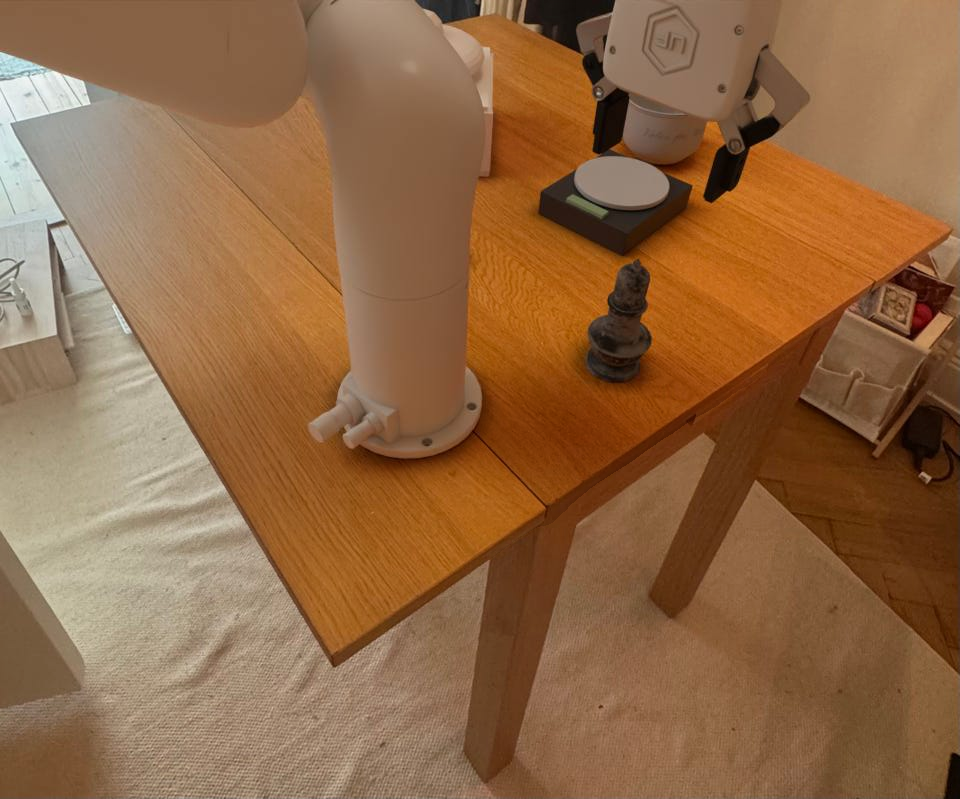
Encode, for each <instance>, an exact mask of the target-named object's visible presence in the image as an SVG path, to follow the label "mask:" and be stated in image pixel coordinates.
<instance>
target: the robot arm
mask: <svg viewBox="0 0 960 799" xmlns="http://www.w3.org/2000/svg"><path fill="white" fill-rule="evenodd" d="M782 3H783V0H615V1H614V4H613V9H612V11H611V12H608V13H605V14H601V15H598V16H594V17H591V18H588V19H586V20H584V21H582V22H580V23H578V24H577V25H576V28H575V32H576V37H577V41H578V46H579V49H580V54H582V56H583V57H582V60H581V66H582V68H583V70H584V72H585V74H586V76H587V77H588V80H589V81H590V84H591V86H592V87H591V96H592V98H593V99H594V100H595V101H596V107H595V114H594V120H593V127H592V134H593V136H594V137H593V142H592V150H591V151H592V153H594V154H596V155H597V156H599V155H601V154H603V153H604V152H606V151H608V150H609V149H610V150H612V149H613V148H614V147H615V146H617V145H619V144H620V143H621V142H622V140H623V131H624V126H625V121H626V115H627V110H628V105H629V99H630V97H629V93H631V94H633V95H636V96H638V97H641V98H643V99H646V100H649V101H651V102H654V103H657V104H659V105H662V106H664V107H667V108H670V109H672V110H675V111H678V112H680V113H683V114H686V115H689V116H691V117H694V118H697V119H700V120H704V121H708V122H710V123H713V122H714V123H716V124H717V126H718V128H719V132H720V134H721V136H722V139H723V141H724V144H723V145H722V146H721V147H719V148H718V149H717V150H716V152H715V154H714V158H713V160H712V164H711V167H710V171H709V174H708V178H707V182H706V185H705V189H704V192H703V195H702V198H703V199H704V201H705V202H707V203H709V204H713V203H714V202H716V201H717V200H718V199H719V198H720V197H722V196H723V195H724V194H725V193H727V192H729V193H730V192H732V191H733V190H734V189H735V188H737V186H738V185H739V182H740V180H741V177H742V174H743V170H744V168H745V165H746V162H747V158H748V155H749V154H750V153H749V152H750V150H751V148H752V147H754V146H756V145H757V144H760V143H762V142H764V141H767V140H768V139H770V138H772V137H773V136H774V135H776V134H777V133H779V132H780V131H781V130H782V129H784V128H785V126H786V125H788V124H789V123H790V122H791V121H792V120H793V119H794V118H795V117H796V116H797V115H799V113H800V112H802V110H803V109H804V108H806V107H807V106H808V105H809V104H810V101H811V94H810V93H809V92H808V90H807V89H805V88H804V86H803V85H802V84H801V82H799V81H798V79H796V78H795V76H794V75H793V74H792V73H791V72H790V71H789V70H788V69H787V68H786V66H785V65H784V64H783V63H782V62H781V61H780V60H779V59H778V58H777V57H776V55H774V53H772V49H773V46H774V41H775V37H776V32H777V28H778V23H779V19H780V14H781V10H782V9H781V8H782ZM423 9H424V8H423V7H421V5H420V4H419V3H418V2H417V1H416V0H0V53H2V54H4V55H7V56H11V57H14V58H17V59H20V60H23V61H26V62H29V63H32V64H35V65H38V66H40V67H42V68H45V69H47V70H50V71H53V72H56V73H58V74H61V75H63V76H67V77H70V78H73V79H76V80H78V81H82V82H84V83H88V84H91V85H94V86H97V87H100V88H103V89H106V90H109V91H112V92H115V93H118V94H120V95H123V96H127V97H130V98H134V99H136V100H140V101H142V102H145V103H148V104H151V105H154V106H157V107H160V108H163V109H166V110H168V111H171V112H174V113H178V114H180V115H182V116H186V117H188V118H189V117H190V118H192V119H195V120H197V121H201V122H205V123H209V124H212V125H217V126H221V127H225V128H231V129H234V128H235V129H253V128H257V127H260V126H266V125H268V124H271V123H272V122H273V123H274V122H275V121H277V120H278V119H280V118H282V117H283V116H285V115H286V114H288V112H290V110H291V109H292V108H294V106H295V105H296V104H297V102H298V100H299V99H300V97H301V98H305V99H307V100H309V101H311V103H312V107H313V110H314V112H315V114H316V118H317V119H318V122H319V125H320V127H321V130H322V134H323V138H324V142H325V147H326V151H327V152H326V153H327V156H328V163H329V168H330V180H331V181H330V182H331V200H332V202H331V203H332V205H331V206H332V220H333V223H332V224H333V231H334V241H335V250H336V258H337V259H336V260H337V267H338V270H339V272H338V273H339V280H340V288H341V295H342V304H343V311H344V312H343V313H344V320H345V321H344V322H345V329H346V338H347V345H348V353H349V362H350V370H349V371H348V372H347V374H346V375H345V377H344V378H343V379H342V381H341V383H340V386H339V387H338V391H337V397H336V401H335V406H334V407H333V408H331V409H329V410H328V411H325V412H323V413H322V414H320V415H318V417H316V418H315V419H313V420H312V421H310V422H309V423H307V430H308V431H309V433H310V435H311V437H312V438H313V439H314V440H315V441H316V442H317V443H319V444H323V443H325V442H327V441H328V440H329V439H331V438H332V437H334V436H335V435H337V434H338V433H339V432H340V431H341V429H342V428H343V429H344V430H345V433H343V434H342V437H341V438H342V441H343V443H344V445H346V447H348V448H349V449H351V450H354V449H355V448H356V447H358V446H359V445H360V446H361V447H363V448H365V449H367V450H369V451H370V452H373V453H375V454H377V455H382V456H385V457H389V458H397V459H421V458H426V457H432V456H435V455H438V454H441V453H443V452H446V451H449V450H451V449H452V448H454V447H455V446H457V445H459V444H460V443H461V442H462V441H464V440H465V439H466V438H467V437H469V435H470V434H471V433H472V432H473V430H474V429H475V428H476V426H477V424H478V422H479V420H480V417H481V413H482V409H483V393H482V389H481V388H482V387H481V384H480V382H479V380H478V378H477V376H476V375H475V374H474V372H473V371H472V370H471V368H469V366H467V346H468V345H467V343H468V319H469V317H468V316H469V295H470V294H469V293H470V291H469V290H470V266H471V264H470V263H471V262H470V261H471V260H470V259H471V258H470V256H471V234H472V233H471V232H472V222H473V221H472V220H473V212H474V211H473V209H474V202H475V196H476V191H477V186H478V182H479V178H480V176H479V173H480V169H481V164H482V160H483V154H484V148H485V137H486V125H485V116H484V110H483V105H482V101H481V98H480V94H479V92H478V89H477V87H476V84H475V82H474V80H473V77H472V75H471V74H470V72H469V70H468V68H467V66H466V65H465V63H464V62H463V60H462V59H461V57H460V56H459V54H458V53H457V52H456V50H455V49H454V48H453V46H452V45H451V44H450V42H449V41H448V40H447V39H446V37H445V36H444V35H443V33H442V32H441V31H440V30H439V29H438V27H437V26H436V25H435V24H434V23H433V22H432V21H431V19H430V18H429V17H428V15H427V14H426V13H425V12H424V10H423ZM604 36H607V37H606V41H605V44H604ZM604 45H605V47H604ZM761 87H762V88H763V89H764V90H765V92H766V93H767V94H768V95H770V97H771V98H772V99H773V100H774V104H775V105H774V108H773V109H772V110H771V111H770V113H769V114H767V115H766V116H764V117H762V118H759V117H758V115H757V113H756V110H755V108H754V105H753V101H754V99H755V98H756V97H757V95H758V93H759V91H760V89H761Z"/></svg>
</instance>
